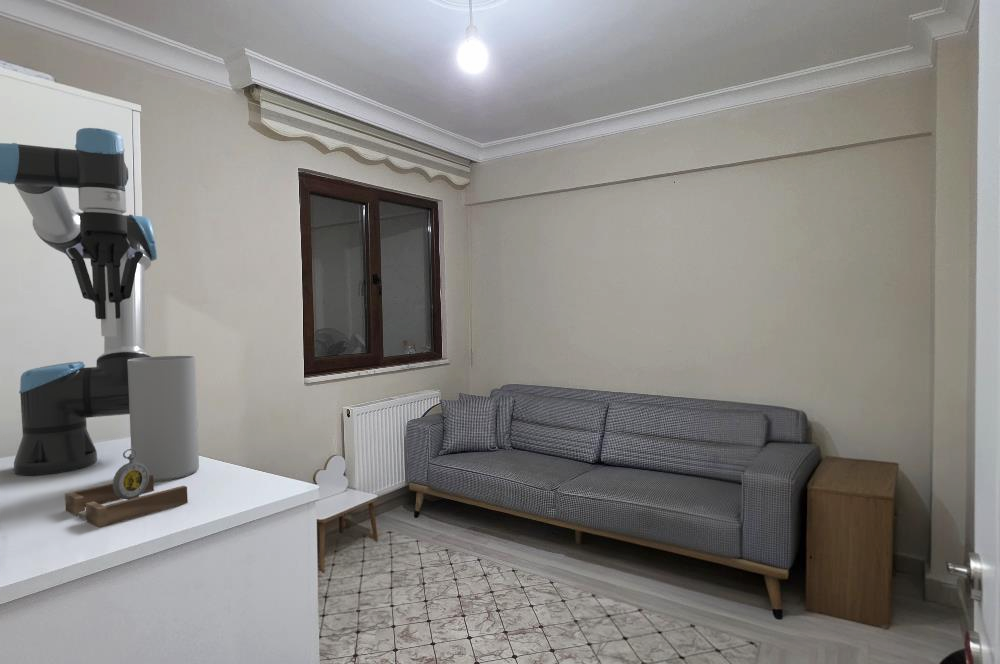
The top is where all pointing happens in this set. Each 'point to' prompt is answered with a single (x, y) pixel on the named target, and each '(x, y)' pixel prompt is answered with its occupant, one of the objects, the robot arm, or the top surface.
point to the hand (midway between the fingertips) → (109, 335)
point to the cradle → (121, 503)
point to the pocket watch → (130, 478)
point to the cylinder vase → (164, 415)
